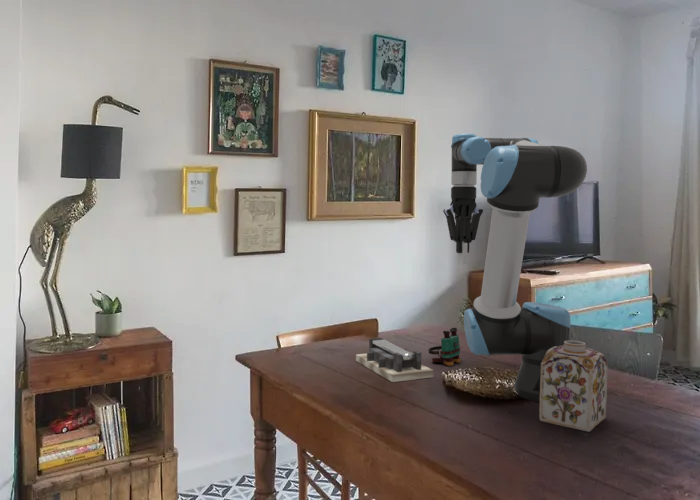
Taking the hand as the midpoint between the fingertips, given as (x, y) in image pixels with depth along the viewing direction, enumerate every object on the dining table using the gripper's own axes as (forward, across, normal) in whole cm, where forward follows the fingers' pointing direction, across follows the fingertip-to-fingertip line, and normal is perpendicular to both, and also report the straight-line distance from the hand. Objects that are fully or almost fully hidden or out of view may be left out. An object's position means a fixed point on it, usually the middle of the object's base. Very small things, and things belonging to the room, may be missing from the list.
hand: (462, 263), depth 193 cm
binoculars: (+31, +5, -2) cm, 31 cm away
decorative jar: (+31, +5, +54) cm, 62 cm away
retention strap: (+25, +23, -1) cm, 34 cm away
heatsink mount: (+30, +23, -1) cm, 38 cm away
